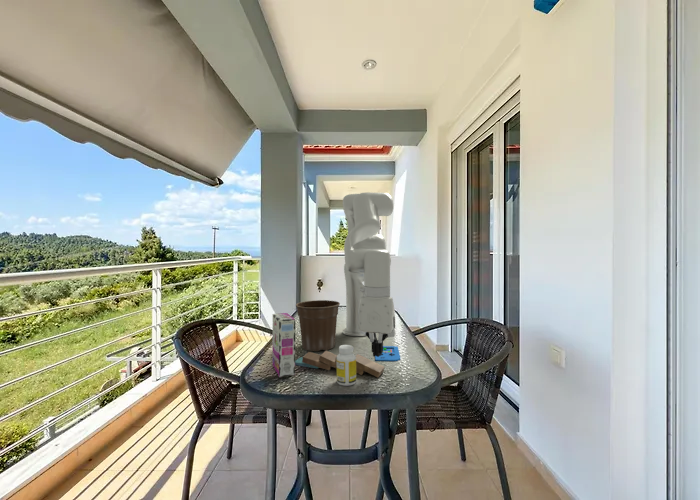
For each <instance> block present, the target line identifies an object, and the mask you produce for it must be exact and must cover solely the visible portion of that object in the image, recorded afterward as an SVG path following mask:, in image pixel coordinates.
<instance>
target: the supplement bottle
mask: <svg viewBox="0 0 700 500" xmlns="http://www.w3.org/2000/svg"><path fill="white" fill-rule="evenodd" d="M338 352H339V353H338V354H336V355H337V369H336V383H337V384H338V385H340V386H345V387H347V386H353V385H355V384H356V383H357V373H356V354H354V346H353V345H351V344H342V345H339V346H338Z"/></svg>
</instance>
